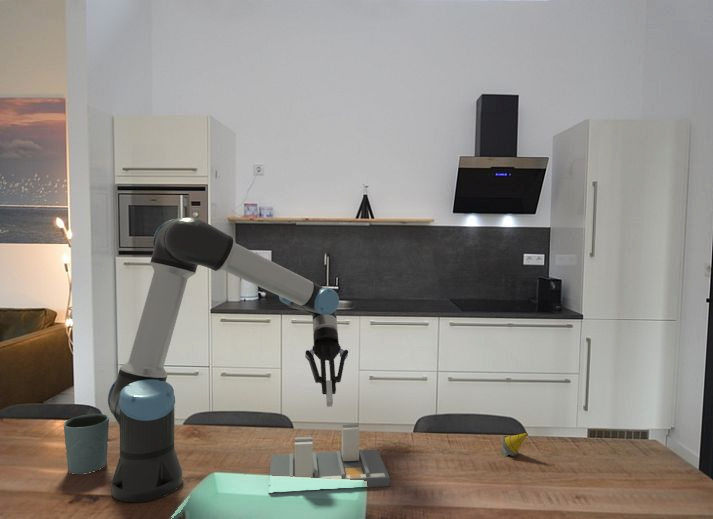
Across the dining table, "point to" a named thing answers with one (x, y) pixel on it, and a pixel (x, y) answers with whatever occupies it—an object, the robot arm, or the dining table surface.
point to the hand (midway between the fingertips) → (329, 404)
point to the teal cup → (86, 442)
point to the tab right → (350, 442)
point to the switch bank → (337, 467)
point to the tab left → (304, 457)
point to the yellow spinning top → (512, 444)
